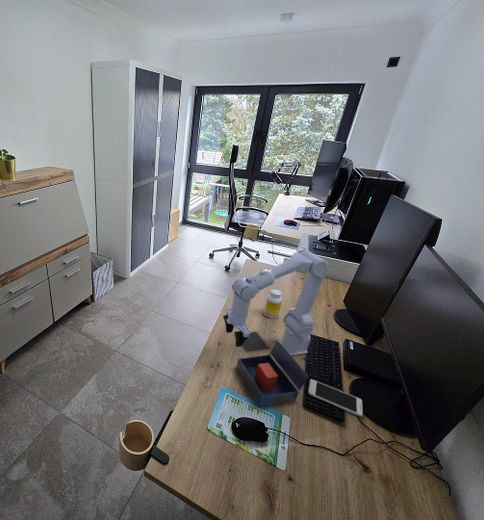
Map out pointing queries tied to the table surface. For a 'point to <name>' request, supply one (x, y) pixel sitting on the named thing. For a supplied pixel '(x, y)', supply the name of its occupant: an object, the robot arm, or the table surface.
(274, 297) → the supplement bottle
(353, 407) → the smartphone
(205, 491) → the table surface
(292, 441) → the table surface
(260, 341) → the mat
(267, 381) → the block
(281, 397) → the carton
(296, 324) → the robot arm
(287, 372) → the flap
